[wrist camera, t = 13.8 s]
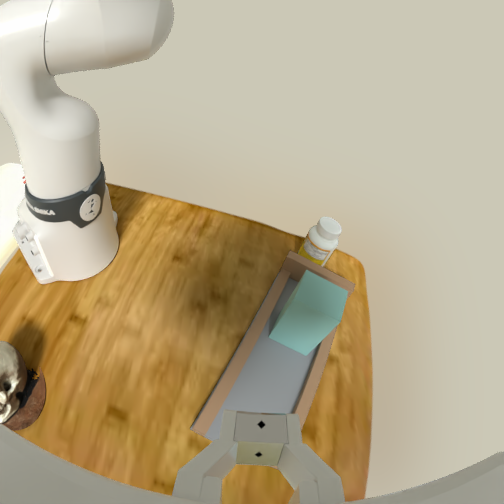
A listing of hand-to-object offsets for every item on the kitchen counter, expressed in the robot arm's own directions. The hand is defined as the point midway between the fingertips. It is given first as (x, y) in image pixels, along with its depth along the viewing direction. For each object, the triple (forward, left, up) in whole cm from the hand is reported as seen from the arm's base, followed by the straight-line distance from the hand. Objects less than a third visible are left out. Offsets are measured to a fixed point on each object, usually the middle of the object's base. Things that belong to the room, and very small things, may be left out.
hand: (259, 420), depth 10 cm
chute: (+3, +16, -23) cm, 29 cm away
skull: (-24, -10, -24) cm, 36 cm away
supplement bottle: (+1, +35, -24) cm, 42 cm away
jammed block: (+3, +20, -23) cm, 31 cm away
